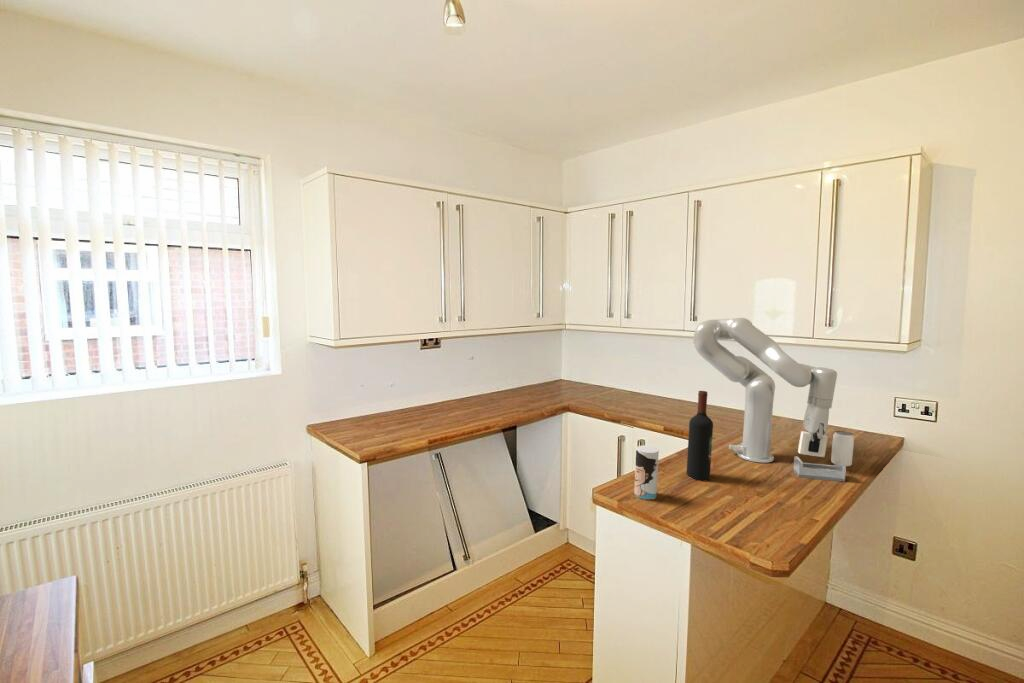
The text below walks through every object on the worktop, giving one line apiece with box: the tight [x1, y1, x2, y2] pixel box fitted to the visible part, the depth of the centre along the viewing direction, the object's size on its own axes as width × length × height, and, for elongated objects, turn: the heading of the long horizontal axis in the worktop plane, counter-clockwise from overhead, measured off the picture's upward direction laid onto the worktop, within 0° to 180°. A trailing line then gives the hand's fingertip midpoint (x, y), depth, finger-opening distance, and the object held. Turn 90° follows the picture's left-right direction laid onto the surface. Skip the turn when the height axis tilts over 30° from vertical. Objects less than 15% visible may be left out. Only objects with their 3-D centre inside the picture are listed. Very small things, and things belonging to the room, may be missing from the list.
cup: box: [633, 445, 659, 499], centre depth 149 cm, size 7×7×15 cm
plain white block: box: [797, 430, 829, 458], centre depth 175 cm, size 8×3×8 cm, turn 76°
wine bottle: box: [686, 390, 714, 481], centre depth 164 cm, size 8×8×30 cm
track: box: [792, 455, 847, 483], centre depth 167 cm, size 14×6×6 cm, turn 75°
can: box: [830, 430, 855, 468], centre depth 179 cm, size 6×6×12 cm
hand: (811, 449), depth 175 cm, fingers closed on plain white block, 2 cm apart
